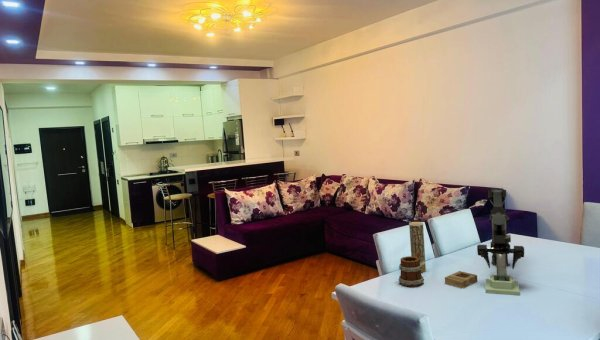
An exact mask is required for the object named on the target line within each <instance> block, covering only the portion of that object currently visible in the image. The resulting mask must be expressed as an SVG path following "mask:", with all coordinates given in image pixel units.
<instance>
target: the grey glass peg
mask: <svg viewBox="0 0 600 340" xmlns="http://www.w3.org/2000/svg"><path fill="white" fill-rule="evenodd" d="M495 266H496V267H495V268H496V275H497V281H507V275H508V273H507V272H508V271H507V270H508V269H507V266H506V253H501V252H498V253H496V265H495Z"/></svg>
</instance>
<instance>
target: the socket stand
mask: <svg viewBox="0 0 600 340" xmlns="http://www.w3.org/2000/svg"><path fill="white" fill-rule="evenodd" d="M485 293H487V294H500V295H511V296H512V295H513V296H521V295H520V293H521V291H520V287H519V280H514V276H512V275H509V274H507V281H497V274H493V273H492V274H490V275H489V278H485Z"/></svg>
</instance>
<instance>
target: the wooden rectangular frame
mask: <svg viewBox="0 0 600 340" xmlns="http://www.w3.org/2000/svg"><path fill="white" fill-rule="evenodd" d="M477 282H478V275H477V274H474V273H469V272H465V271H462V270H459V271H456V272H454V273H452V274H449V275H447V276H445V277H444V284H445V285H448V286H451V285H452V287H454V288H455V287H456V288H459V289H462V288H463V289H465V288H467V287H469V286H472V285H473V284H475V283H477Z"/></svg>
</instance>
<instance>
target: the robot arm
mask: <svg viewBox="0 0 600 340" xmlns="http://www.w3.org/2000/svg"><path fill="white" fill-rule="evenodd" d="M487 193H488V194H487V195H488V198H489V201H490V203H491V204H492V205H493V208H492V209H491V210H490V214H489V224H491V230H492V237H491V241H490V247H488V245H487V244H477V245H476V250H477V251H476V252H477V255H478V256H480V257H481V258H483V259H484V261H485V263H486V264H487V267H488V268H489V269H490V268H491V264H492V265H494V266H496V253H498V252H501V253H506V267H507V266H510V263H509V261H508V260H509V258H508V255H510V254H512V265H511V266H512V270H514V269H515V267H516V264H517V262H518V260H519V259H521V258H524V257H525V247H524V246H523V245H513V248H511V244H510V243H511V242H512V237H511V234H507V224H509V223H510V217H509V216H508V215H507V214H506V213H507V212H506V210H505V209H504V208H503V205H504V203H505V200H506V198H507V189H504V188H501V187H500V188H490V189H488V191H487ZM489 253H490V254H492V255H491V263H490V257H489Z"/></svg>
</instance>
